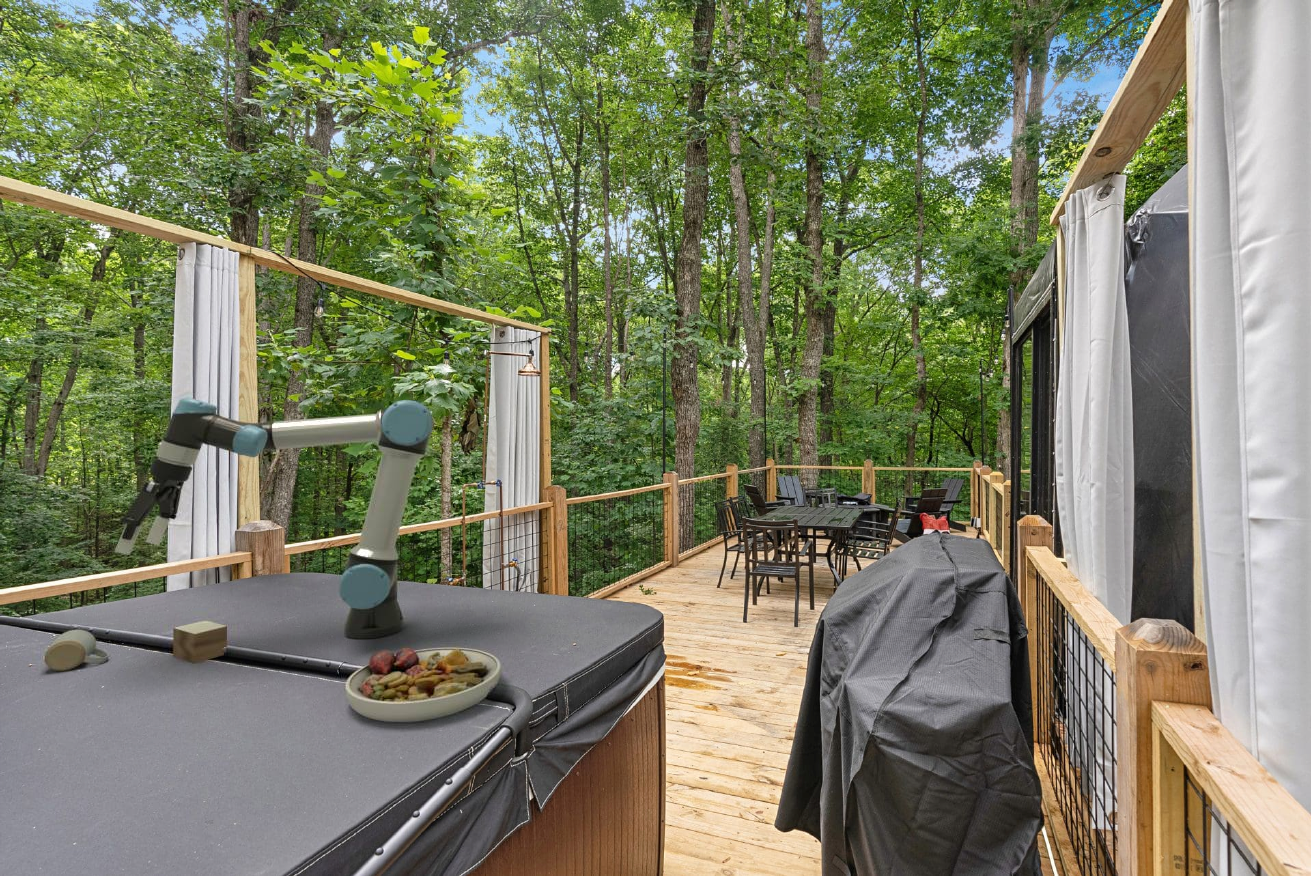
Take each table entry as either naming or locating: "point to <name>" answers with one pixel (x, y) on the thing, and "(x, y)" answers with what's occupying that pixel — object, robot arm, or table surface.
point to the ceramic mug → (74, 651)
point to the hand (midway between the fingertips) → (138, 548)
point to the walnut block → (199, 641)
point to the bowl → (421, 683)
